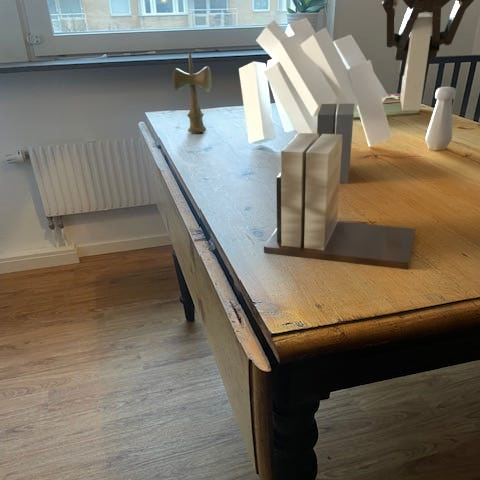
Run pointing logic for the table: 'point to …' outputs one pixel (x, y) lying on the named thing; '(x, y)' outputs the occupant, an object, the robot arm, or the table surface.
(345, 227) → the book board
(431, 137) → the salt shaker
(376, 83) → the pile of blocks
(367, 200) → the table surface
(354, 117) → the hardcover book
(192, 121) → the kendama
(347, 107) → the grey books
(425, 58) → the white book
